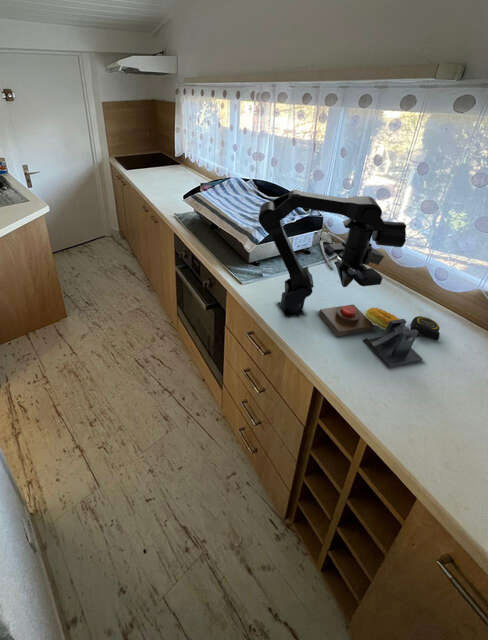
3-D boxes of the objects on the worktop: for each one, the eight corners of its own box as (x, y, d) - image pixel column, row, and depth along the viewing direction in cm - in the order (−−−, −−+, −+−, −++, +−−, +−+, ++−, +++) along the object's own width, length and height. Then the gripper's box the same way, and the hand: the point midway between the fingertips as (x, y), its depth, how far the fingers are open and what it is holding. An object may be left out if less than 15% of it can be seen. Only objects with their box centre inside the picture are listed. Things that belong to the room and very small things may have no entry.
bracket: (388, 367, 82) (400, 341, 77) (366, 342, 89) (375, 317, 85) (421, 361, 83) (434, 335, 78) (396, 337, 91) (406, 312, 86)
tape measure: (408, 334, 92) (412, 324, 90) (410, 321, 97) (414, 312, 95) (435, 344, 88) (440, 335, 87) (436, 330, 93) (441, 321, 91)
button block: (337, 336, 91) (340, 326, 90) (318, 314, 100) (321, 304, 98) (372, 331, 93) (376, 321, 91) (351, 309, 102) (354, 300, 100)
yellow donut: (394, 312, 97) (388, 322, 98) (363, 301, 97) (357, 311, 98) (415, 330, 87) (408, 341, 88) (380, 318, 87) (374, 329, 88)
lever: (376, 357, 82) (374, 352, 81) (363, 343, 86) (361, 338, 85) (414, 338, 81) (413, 332, 80) (400, 324, 85) (398, 319, 84)
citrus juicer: (351, 246, 118) (323, 219, 145) (326, 257, 120) (303, 228, 148) (360, 268, 121) (332, 238, 149) (336, 279, 124) (312, 247, 151)
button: (346, 318, 93) (347, 314, 92) (338, 310, 96) (340, 306, 95) (356, 316, 94) (358, 312, 93) (349, 309, 97) (350, 304, 96)
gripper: (409, 256, 79) (390, 303, 86) (361, 225, 95) (349, 267, 102) (370, 260, 77) (354, 307, 85) (328, 228, 93) (318, 270, 101)
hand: (344, 286), depth 93 cm, fingers closed
